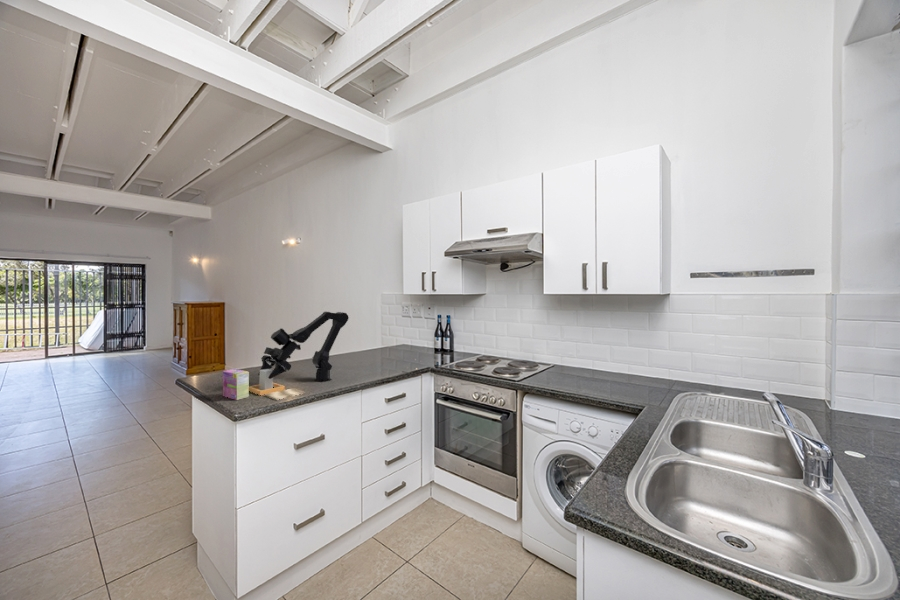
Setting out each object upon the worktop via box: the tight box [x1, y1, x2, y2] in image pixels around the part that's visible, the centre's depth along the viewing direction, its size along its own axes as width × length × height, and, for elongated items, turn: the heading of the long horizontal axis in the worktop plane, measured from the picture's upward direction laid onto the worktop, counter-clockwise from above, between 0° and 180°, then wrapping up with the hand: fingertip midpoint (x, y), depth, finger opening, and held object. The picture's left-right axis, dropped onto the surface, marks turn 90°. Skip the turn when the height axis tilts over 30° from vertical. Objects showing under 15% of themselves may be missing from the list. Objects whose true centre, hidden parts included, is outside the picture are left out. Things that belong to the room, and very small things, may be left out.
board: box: [264, 387, 306, 401], centre depth 171 cm, size 14×10×1 cm
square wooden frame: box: [249, 382, 286, 396], centre depth 176 cm, size 12×12×2 cm
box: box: [222, 368, 250, 401], centre depth 165 cm, size 10×6×12 cm, turn 62°
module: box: [258, 368, 274, 390], centre depth 176 cm, size 4×5×10 cm
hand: (263, 376), depth 175 cm, fingers open, 9 cm apart
